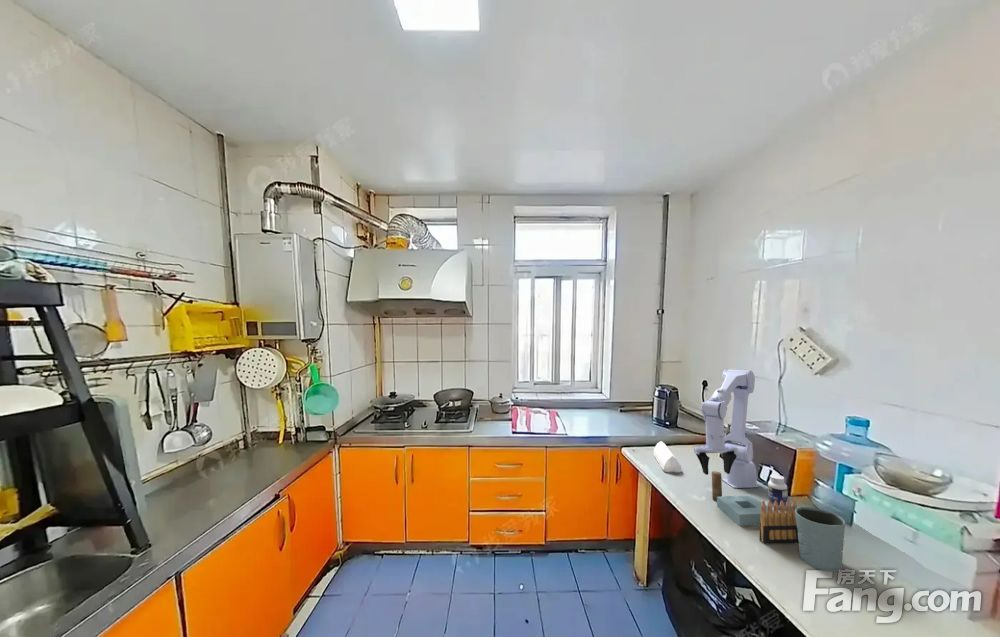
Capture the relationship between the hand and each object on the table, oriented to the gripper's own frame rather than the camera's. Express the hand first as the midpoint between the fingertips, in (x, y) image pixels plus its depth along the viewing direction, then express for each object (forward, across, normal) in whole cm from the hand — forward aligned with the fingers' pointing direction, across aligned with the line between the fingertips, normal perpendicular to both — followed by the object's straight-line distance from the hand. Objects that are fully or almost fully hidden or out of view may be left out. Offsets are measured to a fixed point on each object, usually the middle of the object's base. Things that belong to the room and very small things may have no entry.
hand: (716, 473), depth 135 cm
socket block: (+9, +3, -11) cm, 15 cm away
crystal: (+10, -2, +35) cm, 36 cm away
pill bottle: (+10, +18, -5) cm, 21 cm away
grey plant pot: (+10, +7, -35) cm, 37 cm away
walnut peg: (+9, 0, 0) cm, 9 cm away
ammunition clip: (+10, +3, -26) cm, 28 cm away
